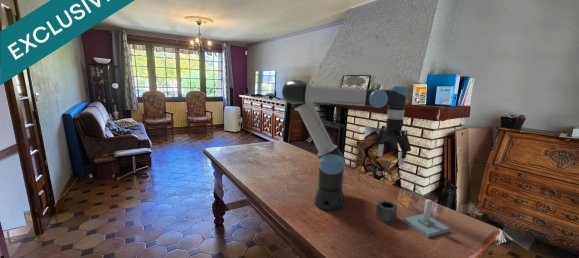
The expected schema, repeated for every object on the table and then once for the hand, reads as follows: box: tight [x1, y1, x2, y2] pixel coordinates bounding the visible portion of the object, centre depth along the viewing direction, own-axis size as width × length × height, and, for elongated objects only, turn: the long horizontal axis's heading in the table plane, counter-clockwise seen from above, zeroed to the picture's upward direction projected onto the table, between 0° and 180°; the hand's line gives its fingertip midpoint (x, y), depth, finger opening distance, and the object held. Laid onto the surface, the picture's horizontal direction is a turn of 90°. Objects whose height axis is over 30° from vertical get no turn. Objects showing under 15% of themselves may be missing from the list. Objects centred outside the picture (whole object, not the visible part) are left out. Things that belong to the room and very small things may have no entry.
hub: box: [375, 200, 398, 224], centre depth 109 cm, size 8×8×6 cm
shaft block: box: [403, 199, 451, 238], centre depth 103 cm, size 12×12×12 cm
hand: (390, 160), depth 124 cm, fingers open, 13 cm apart
